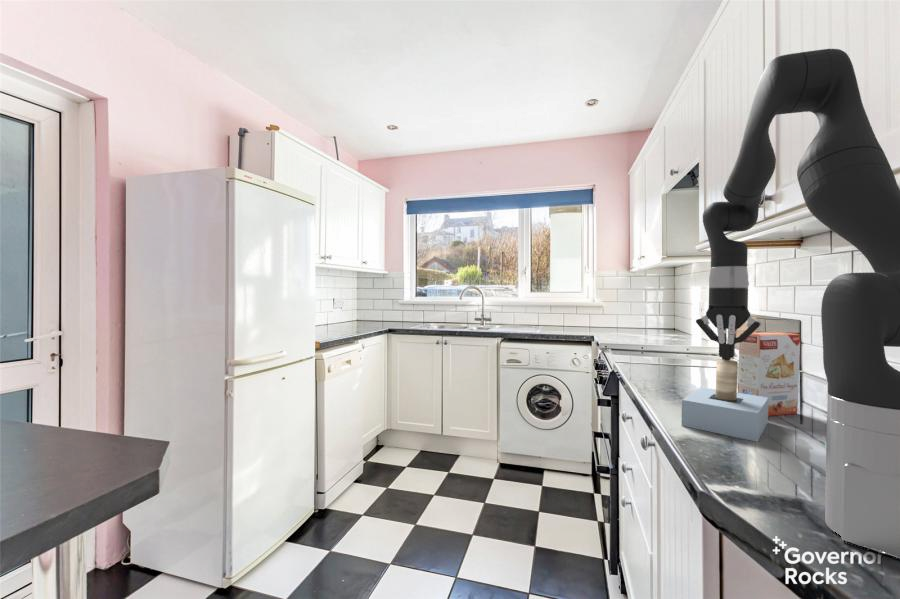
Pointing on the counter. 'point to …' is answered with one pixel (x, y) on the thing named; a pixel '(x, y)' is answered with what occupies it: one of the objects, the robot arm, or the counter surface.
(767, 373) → the cracker box
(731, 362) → the peg
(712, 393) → the socket block
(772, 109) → the robot arm
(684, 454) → the counter surface
